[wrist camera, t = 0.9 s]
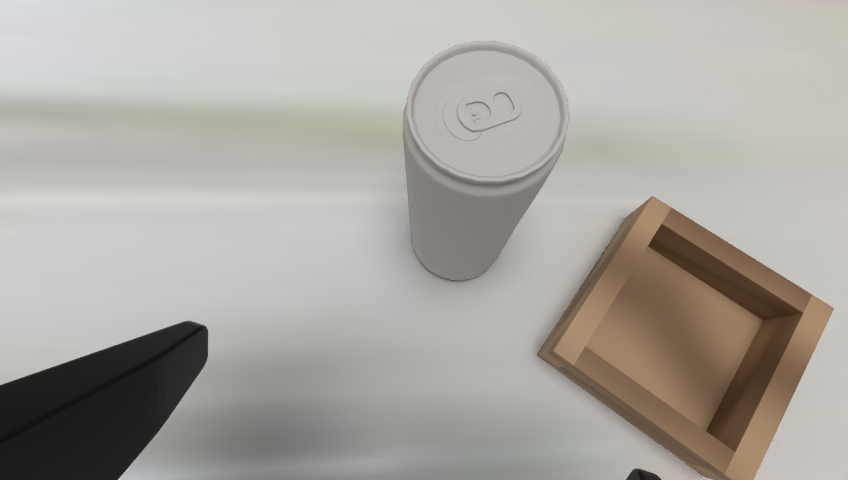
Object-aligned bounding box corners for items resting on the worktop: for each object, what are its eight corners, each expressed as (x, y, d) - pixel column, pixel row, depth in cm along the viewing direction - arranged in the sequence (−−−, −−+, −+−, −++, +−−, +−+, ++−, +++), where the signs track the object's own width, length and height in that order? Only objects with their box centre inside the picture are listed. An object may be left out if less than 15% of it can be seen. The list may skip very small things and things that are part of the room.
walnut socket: (704, 476, 21) (748, 491, 18) (537, 354, 22) (553, 350, 19) (783, 317, 23) (833, 308, 20) (626, 217, 24) (652, 195, 22)
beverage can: (398, 215, 24) (376, 66, 13) (479, 184, 25) (527, 16, 13) (432, 297, 23) (441, 212, 12) (517, 262, 24) (606, 150, 12)
